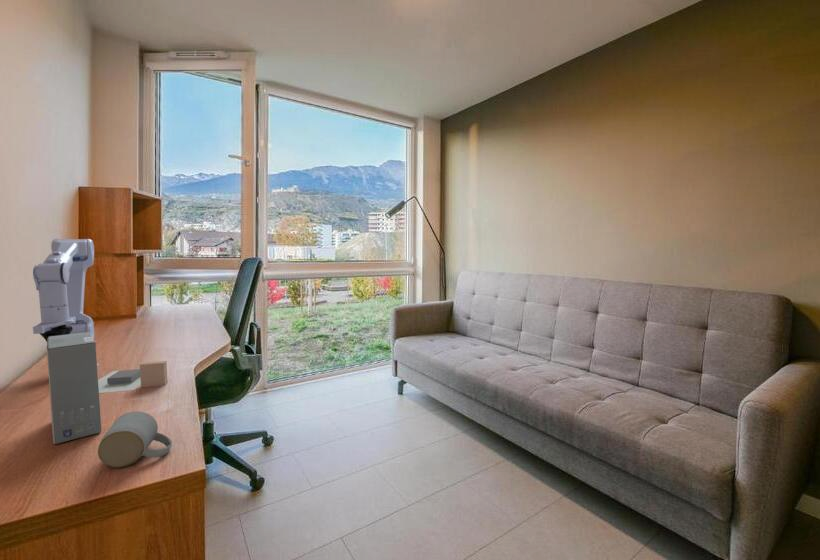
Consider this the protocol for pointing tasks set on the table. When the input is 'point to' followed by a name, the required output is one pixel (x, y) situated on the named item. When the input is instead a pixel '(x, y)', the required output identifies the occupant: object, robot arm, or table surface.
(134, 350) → the table surface
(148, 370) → the plain tile
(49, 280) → the robot arm
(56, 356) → the hard drive box
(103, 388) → the felt mat
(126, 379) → the glazed tile
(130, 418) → the ceramic mug
